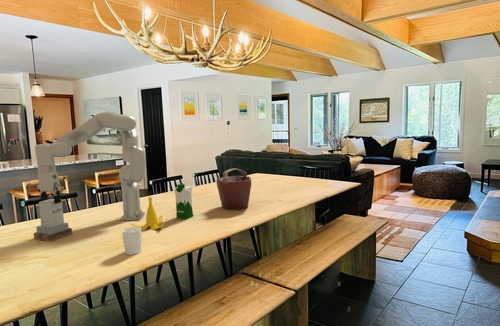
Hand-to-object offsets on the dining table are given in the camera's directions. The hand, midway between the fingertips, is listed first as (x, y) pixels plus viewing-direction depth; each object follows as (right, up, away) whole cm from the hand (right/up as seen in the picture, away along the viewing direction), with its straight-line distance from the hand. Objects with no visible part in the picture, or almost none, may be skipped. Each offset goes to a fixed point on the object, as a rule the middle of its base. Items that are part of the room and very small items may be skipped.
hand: (51, 202), depth 168 cm
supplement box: (0, -12, +1) cm, 12 cm away
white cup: (+49, -19, -22) cm, 57 cm away
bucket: (+90, -9, +50) cm, 103 cm away
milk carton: (+61, -12, +29) cm, 69 cm away
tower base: (0, -17, +2) cm, 17 cm away
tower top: (0, -14, +1) cm, 15 cm away
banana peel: (+45, -15, +12) cm, 49 cm away
